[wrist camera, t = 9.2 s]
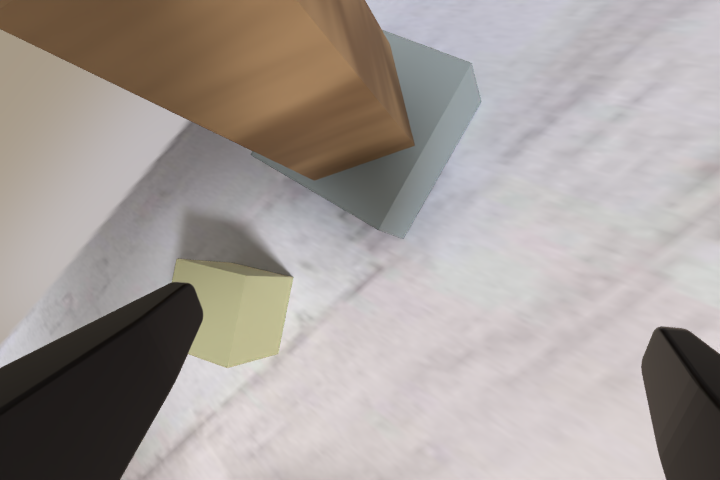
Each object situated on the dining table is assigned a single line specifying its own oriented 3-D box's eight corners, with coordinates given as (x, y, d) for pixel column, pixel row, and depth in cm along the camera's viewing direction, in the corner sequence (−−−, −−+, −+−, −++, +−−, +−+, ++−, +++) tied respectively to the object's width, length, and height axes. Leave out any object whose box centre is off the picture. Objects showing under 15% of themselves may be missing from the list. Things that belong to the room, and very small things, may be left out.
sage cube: (278, 353, 24) (227, 368, 20) (218, 334, 26) (159, 343, 22) (294, 277, 24) (246, 275, 20) (232, 262, 26) (176, 258, 22)
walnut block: (414, 145, 18) (192, -128, 6) (313, 180, 20) (-17, 20, 8) (389, 44, 19) (153, -369, 7) (295, 85, 21) (-26, -189, 9)
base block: (403, 239, 22) (378, 229, 18) (291, 173, 25) (250, 154, 21) (481, 101, 21) (471, 63, 18) (356, 51, 24) (325, 8, 20)
